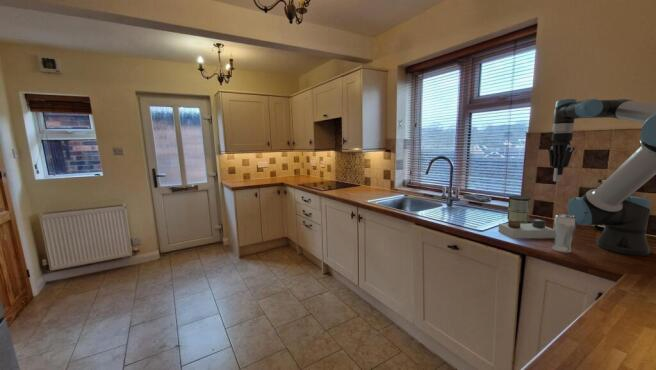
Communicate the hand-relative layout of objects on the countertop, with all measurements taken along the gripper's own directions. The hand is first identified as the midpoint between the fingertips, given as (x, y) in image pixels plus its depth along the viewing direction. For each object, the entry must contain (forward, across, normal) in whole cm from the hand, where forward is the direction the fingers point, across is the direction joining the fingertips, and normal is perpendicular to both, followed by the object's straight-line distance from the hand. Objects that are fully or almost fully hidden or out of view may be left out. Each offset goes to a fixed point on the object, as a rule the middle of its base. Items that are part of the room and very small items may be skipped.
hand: (556, 181), depth 131 cm
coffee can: (+27, +22, +2) cm, 35 cm away
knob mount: (+26, -3, +15) cm, 31 cm away
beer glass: (+27, -23, +14) cm, 38 cm away
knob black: (+25, -3, +9) cm, 27 cm away
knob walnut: (+25, -3, +21) cm, 33 cm away
